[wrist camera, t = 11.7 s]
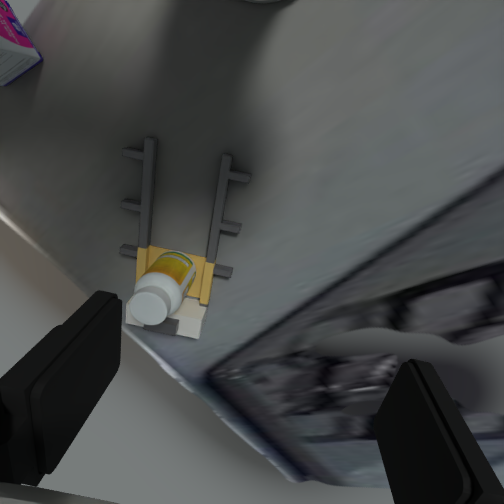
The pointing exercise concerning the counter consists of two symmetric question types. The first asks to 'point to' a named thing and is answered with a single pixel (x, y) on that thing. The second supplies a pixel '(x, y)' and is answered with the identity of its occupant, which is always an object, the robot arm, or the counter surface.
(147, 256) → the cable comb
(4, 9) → the supplement box
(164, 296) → the supplement bottle
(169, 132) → the counter surface
